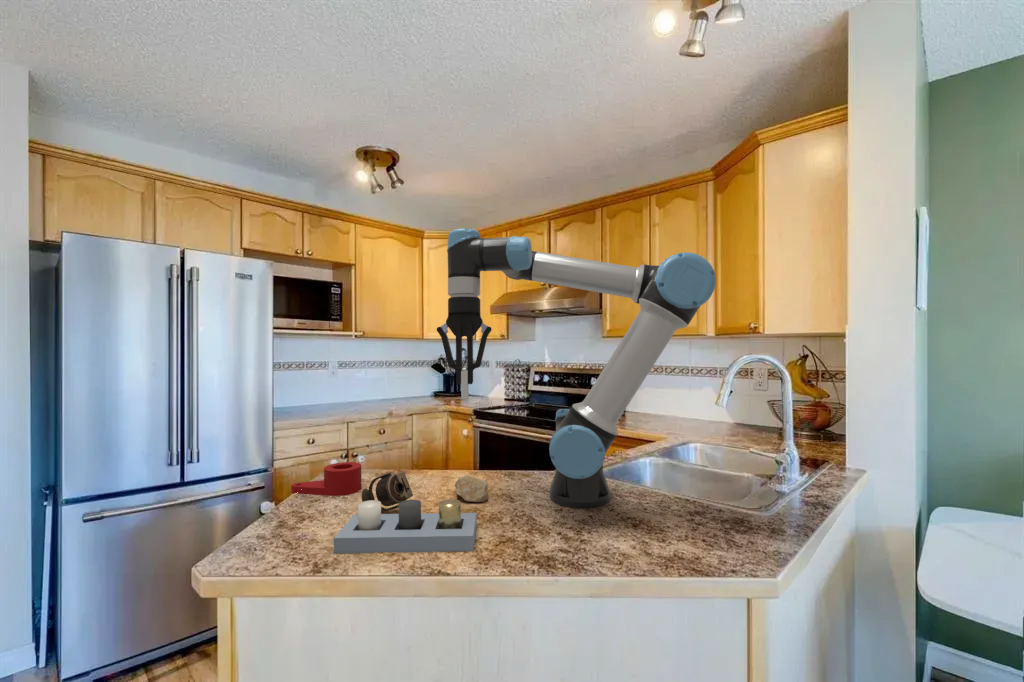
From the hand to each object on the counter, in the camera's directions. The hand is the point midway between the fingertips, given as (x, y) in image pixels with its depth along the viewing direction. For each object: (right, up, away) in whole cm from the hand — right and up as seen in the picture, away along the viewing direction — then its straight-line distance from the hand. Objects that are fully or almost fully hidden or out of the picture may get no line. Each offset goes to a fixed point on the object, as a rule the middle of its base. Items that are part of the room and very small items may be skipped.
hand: (464, 398), depth 109 cm
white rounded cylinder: (-17, -24, -15) cm, 34 cm away
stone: (-4, -27, +12) cm, 29 cm away
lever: (-38, -27, +16) cm, 50 cm away
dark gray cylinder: (-9, -24, -15) cm, 30 cm away
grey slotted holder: (-9, -26, -15) cm, 32 cm away
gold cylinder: (-1, -24, -15) cm, 29 cm away
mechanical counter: (-19, -27, -1) cm, 33 cm away
